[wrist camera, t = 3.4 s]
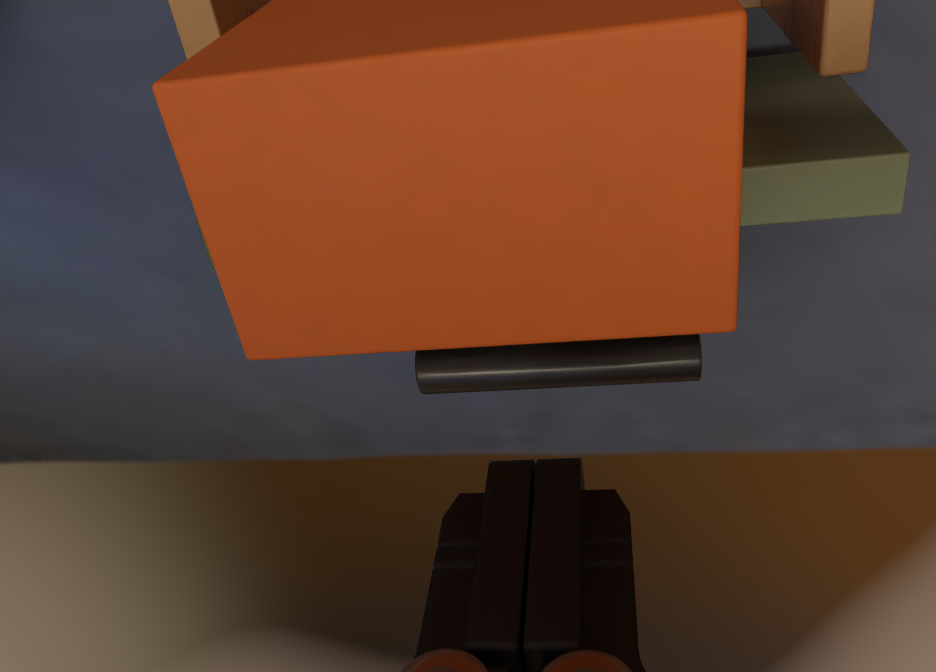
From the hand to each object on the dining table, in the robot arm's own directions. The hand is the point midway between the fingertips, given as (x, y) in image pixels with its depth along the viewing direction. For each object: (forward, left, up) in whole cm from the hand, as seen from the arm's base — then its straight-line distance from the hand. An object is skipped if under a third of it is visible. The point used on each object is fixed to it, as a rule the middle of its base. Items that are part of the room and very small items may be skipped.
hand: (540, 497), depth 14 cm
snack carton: (0, +6, -10) cm, 12 cm away
